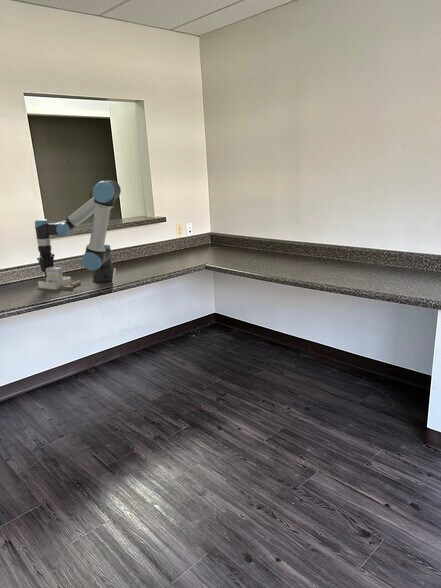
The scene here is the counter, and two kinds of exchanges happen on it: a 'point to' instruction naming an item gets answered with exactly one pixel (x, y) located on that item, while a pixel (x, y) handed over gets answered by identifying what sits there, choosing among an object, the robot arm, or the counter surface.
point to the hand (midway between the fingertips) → (49, 281)
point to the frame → (55, 285)
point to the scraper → (70, 286)
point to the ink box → (54, 274)
